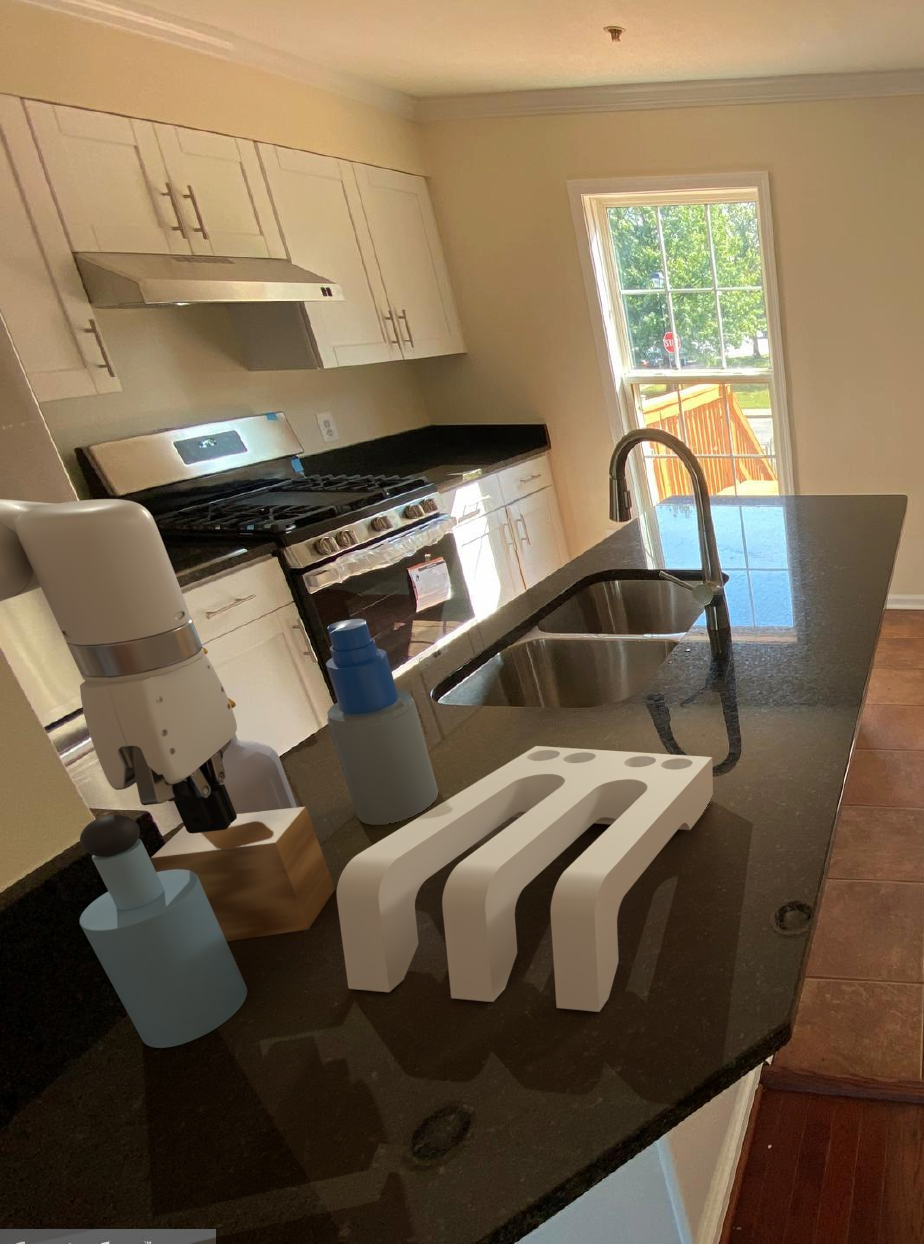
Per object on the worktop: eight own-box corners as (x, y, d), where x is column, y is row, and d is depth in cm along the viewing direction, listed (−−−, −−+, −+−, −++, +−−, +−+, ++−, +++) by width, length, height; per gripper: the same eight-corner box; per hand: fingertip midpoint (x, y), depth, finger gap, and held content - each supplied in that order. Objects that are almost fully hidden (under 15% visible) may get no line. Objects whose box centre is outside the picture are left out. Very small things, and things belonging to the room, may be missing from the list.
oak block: (191, 947, 70) (149, 858, 66) (227, 903, 75) (190, 819, 71) (308, 929, 72) (275, 842, 68) (335, 889, 78) (306, 806, 74)
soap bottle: (316, 831, 87) (251, 646, 77) (221, 874, 80) (137, 675, 70) (284, 806, 91) (219, 628, 82) (192, 845, 84) (109, 654, 75)
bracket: (712, 757, 93) (593, 889, 61) (713, 842, 95) (599, 1011, 64) (536, 746, 95) (333, 869, 63) (541, 829, 97) (348, 988, 66)
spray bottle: (426, 775, 98) (380, 605, 88) (448, 803, 92) (402, 624, 83) (349, 803, 92) (290, 623, 82) (368, 834, 86) (308, 645, 77)
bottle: (237, 1047, 63) (71, 969, 48) (142, 1063, 62) (-59, 988, 47) (288, 905, 72) (160, 801, 57) (205, 916, 70) (52, 812, 55)
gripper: (146, 620, 66) (213, 787, 73) (8, 692, 53) (107, 887, 60) (241, 615, 68) (298, 778, 75) (131, 682, 54) (213, 873, 61)
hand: (213, 826), depth 67 cm, fingers closed
